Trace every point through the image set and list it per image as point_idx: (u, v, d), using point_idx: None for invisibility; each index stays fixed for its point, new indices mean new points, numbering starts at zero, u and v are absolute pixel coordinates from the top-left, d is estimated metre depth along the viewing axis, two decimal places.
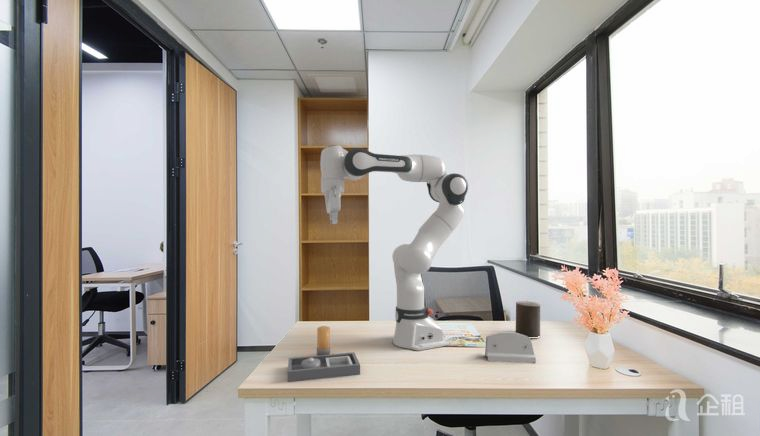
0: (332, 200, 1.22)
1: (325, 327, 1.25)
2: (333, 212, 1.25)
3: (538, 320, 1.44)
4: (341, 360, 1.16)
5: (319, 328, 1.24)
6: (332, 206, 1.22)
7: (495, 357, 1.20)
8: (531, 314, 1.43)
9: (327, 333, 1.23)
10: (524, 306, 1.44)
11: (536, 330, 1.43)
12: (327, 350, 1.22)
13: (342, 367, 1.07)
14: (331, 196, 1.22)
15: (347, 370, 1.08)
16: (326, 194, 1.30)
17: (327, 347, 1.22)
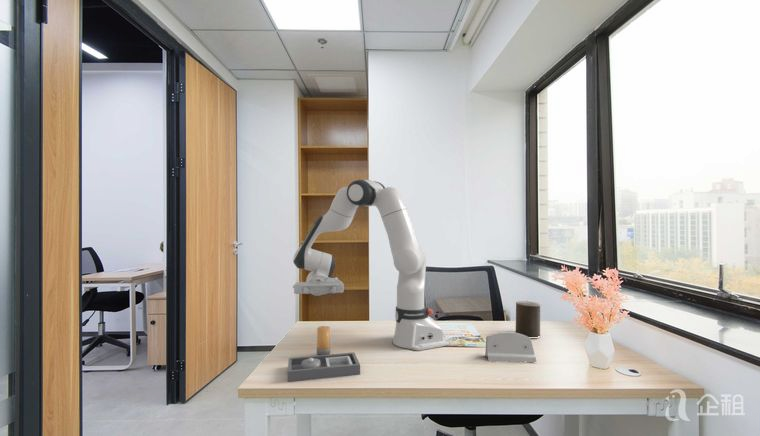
0: None
1: (325, 327, 1.25)
2: (303, 291, 1.38)
3: (538, 320, 1.44)
4: (341, 360, 1.16)
5: (319, 328, 1.24)
6: (294, 291, 1.39)
7: (495, 357, 1.20)
8: (531, 314, 1.43)
9: (327, 333, 1.23)
10: (524, 306, 1.44)
11: (536, 330, 1.43)
12: (327, 350, 1.22)
13: (342, 367, 1.07)
14: None
15: (347, 370, 1.08)
16: None
17: (327, 347, 1.22)
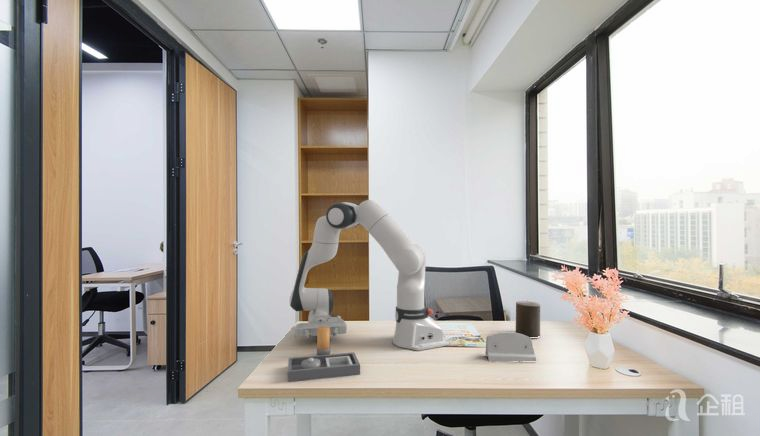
0: None
1: (325, 327, 1.25)
2: (304, 334, 1.33)
3: (538, 320, 1.44)
4: (341, 360, 1.16)
5: (319, 328, 1.24)
6: (295, 335, 1.34)
7: (496, 357, 1.20)
8: (531, 314, 1.43)
9: (327, 333, 1.23)
10: (524, 306, 1.44)
11: (536, 330, 1.43)
12: (327, 350, 1.22)
13: (342, 367, 1.07)
14: None
15: (347, 370, 1.08)
16: None
17: (327, 347, 1.22)
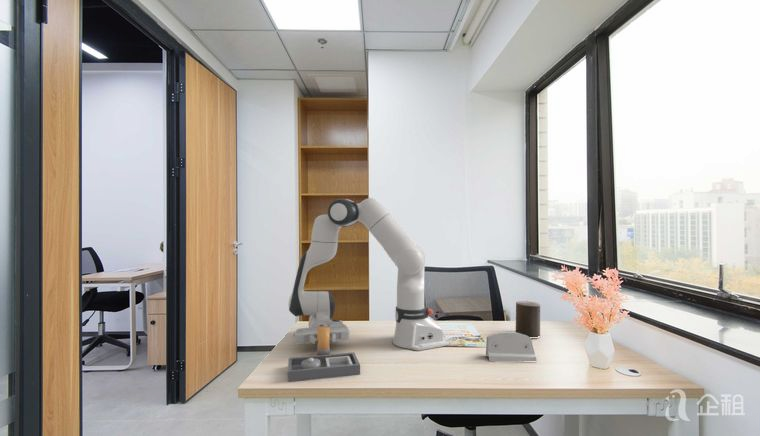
0: None
1: (325, 327, 1.25)
2: (309, 340, 1.26)
3: (538, 320, 1.44)
4: (341, 360, 1.16)
5: (319, 328, 1.23)
6: None
7: (496, 357, 1.20)
8: (531, 314, 1.43)
9: (327, 333, 1.23)
10: (524, 306, 1.44)
11: (536, 330, 1.43)
12: (327, 350, 1.22)
13: (342, 367, 1.07)
14: None
15: (347, 370, 1.08)
16: None
17: (327, 347, 1.22)
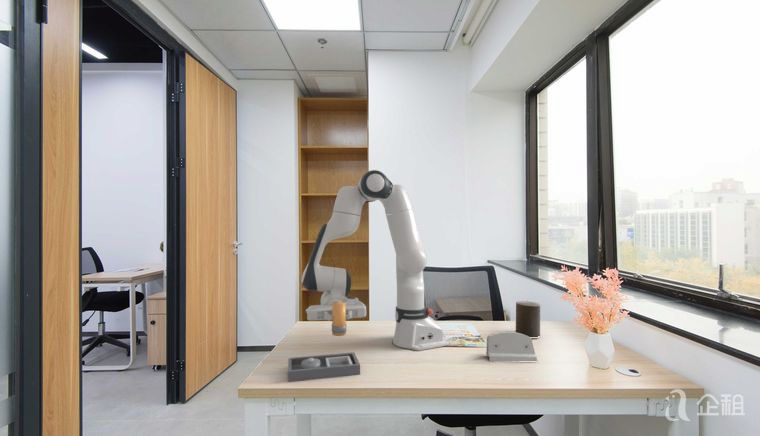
0: None
1: (341, 302, 1.14)
2: (323, 317, 1.15)
3: (538, 320, 1.44)
4: (341, 360, 1.16)
5: (334, 303, 1.13)
6: (307, 318, 1.16)
7: (497, 357, 1.20)
8: (531, 314, 1.43)
9: (343, 308, 1.12)
10: (524, 306, 1.44)
11: (536, 330, 1.43)
12: (343, 327, 1.11)
13: (342, 367, 1.07)
14: None
15: (347, 370, 1.08)
16: None
17: (343, 324, 1.12)
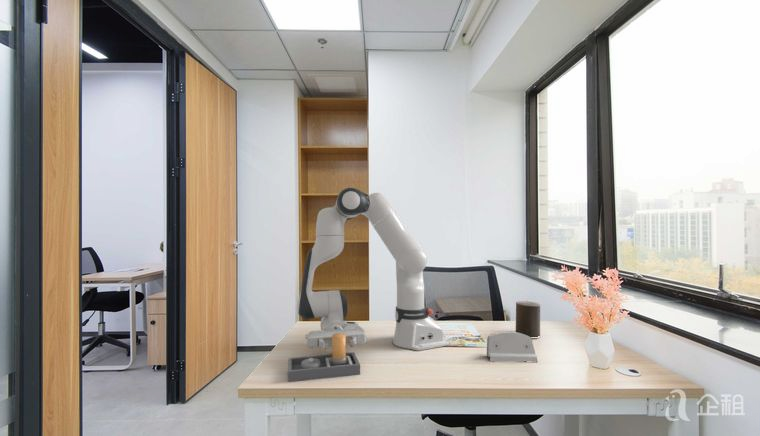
0: None
1: (341, 334, 1.14)
2: (318, 344, 1.14)
3: (538, 320, 1.44)
4: None
5: (334, 335, 1.12)
6: (307, 345, 1.15)
7: (497, 357, 1.20)
8: (531, 314, 1.43)
9: (343, 341, 1.11)
10: (524, 306, 1.44)
11: (536, 330, 1.43)
12: (343, 360, 1.11)
13: (342, 367, 1.07)
14: None
15: (347, 370, 1.08)
16: None
17: (343, 356, 1.11)
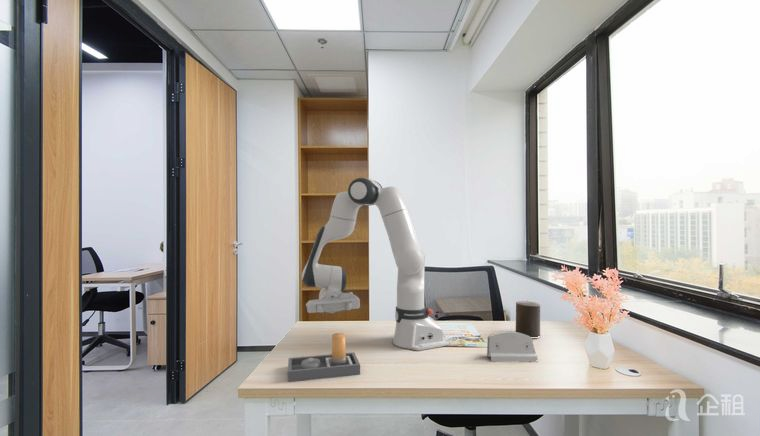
0: None
1: (340, 334, 1.13)
2: (317, 309, 1.29)
3: (538, 320, 1.44)
4: None
5: (334, 335, 1.12)
6: (307, 311, 1.30)
7: (498, 358, 1.20)
8: (531, 314, 1.43)
9: (343, 341, 1.11)
10: (524, 306, 1.44)
11: (536, 330, 1.43)
12: (343, 360, 1.11)
13: (342, 367, 1.07)
14: None
15: (347, 370, 1.08)
16: None
17: (343, 356, 1.11)
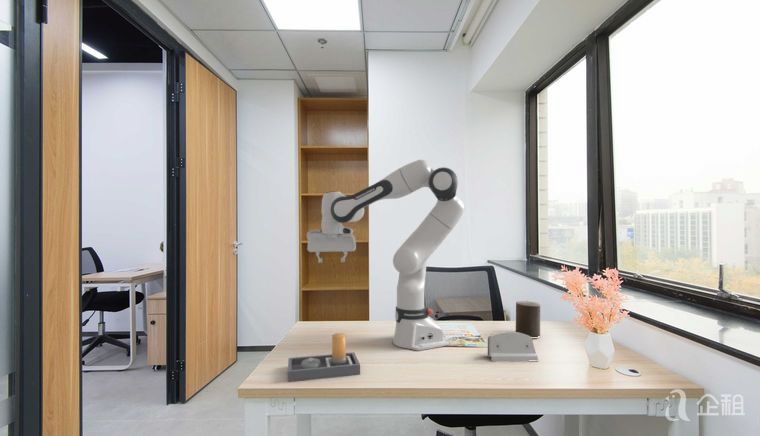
0: None
1: (341, 334, 1.13)
2: (316, 252, 1.45)
3: (538, 320, 1.44)
4: None
5: (334, 335, 1.12)
6: (307, 248, 1.45)
7: (498, 357, 1.20)
8: (531, 314, 1.43)
9: (343, 341, 1.11)
10: (524, 306, 1.44)
11: (536, 330, 1.43)
12: (343, 360, 1.11)
13: (342, 367, 1.07)
14: None
15: (347, 370, 1.08)
16: None
17: (343, 356, 1.11)
